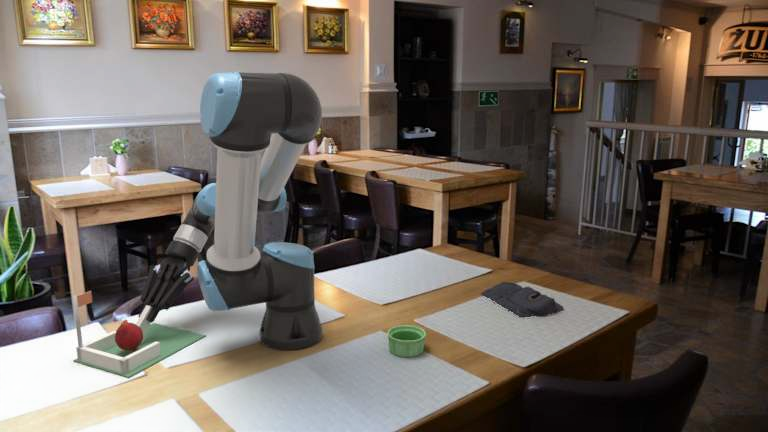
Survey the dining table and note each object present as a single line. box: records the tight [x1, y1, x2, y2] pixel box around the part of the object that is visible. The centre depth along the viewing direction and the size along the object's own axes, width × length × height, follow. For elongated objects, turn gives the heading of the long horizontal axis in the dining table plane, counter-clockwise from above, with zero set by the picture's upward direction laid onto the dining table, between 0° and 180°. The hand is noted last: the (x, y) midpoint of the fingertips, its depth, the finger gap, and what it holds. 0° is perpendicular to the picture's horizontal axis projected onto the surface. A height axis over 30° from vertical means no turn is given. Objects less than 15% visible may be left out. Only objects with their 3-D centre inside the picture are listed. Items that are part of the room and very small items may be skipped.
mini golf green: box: [72, 290, 161, 374], centre depth 128 cm, size 14×10×15 cm
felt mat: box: [73, 322, 206, 379], centre depth 134 cm, size 17×23×1 cm
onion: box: [115, 319, 143, 351], centre depth 131 cm, size 6×6×8 cm
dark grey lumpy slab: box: [480, 281, 564, 318], centre depth 165 cm, size 15×22×5 cm
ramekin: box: [386, 324, 427, 358], centre depth 134 cm, size 9×9×4 cm
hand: (138, 333), depth 135 cm, fingers closed
